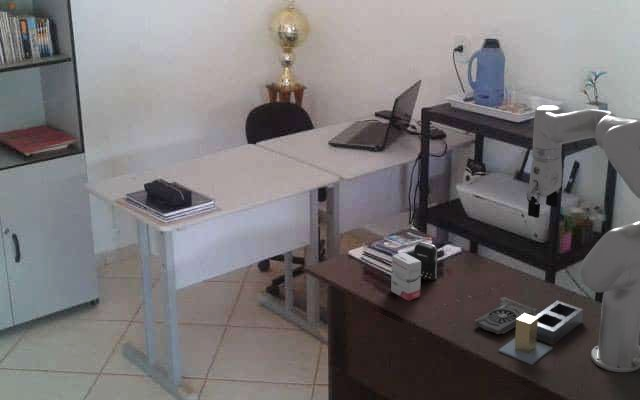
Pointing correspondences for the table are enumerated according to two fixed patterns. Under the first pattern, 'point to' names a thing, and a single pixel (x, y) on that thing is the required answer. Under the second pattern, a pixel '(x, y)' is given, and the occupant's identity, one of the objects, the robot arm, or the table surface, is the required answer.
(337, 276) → the table surface
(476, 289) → the table surface
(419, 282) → the ink box
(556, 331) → the cinder block
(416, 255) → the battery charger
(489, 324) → the graphics card
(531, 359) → the mat
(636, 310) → the robot arm
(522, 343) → the brass peg
